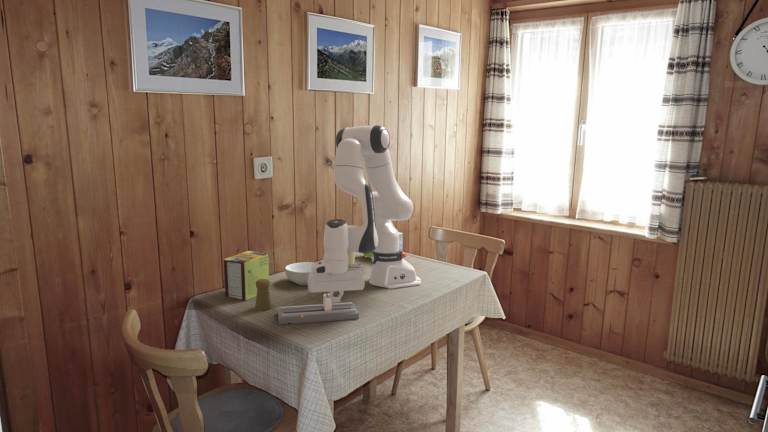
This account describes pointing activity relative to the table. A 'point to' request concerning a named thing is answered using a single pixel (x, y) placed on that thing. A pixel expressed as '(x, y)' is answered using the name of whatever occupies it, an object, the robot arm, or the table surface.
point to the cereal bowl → (299, 272)
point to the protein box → (245, 274)
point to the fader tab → (327, 302)
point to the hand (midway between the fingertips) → (336, 302)
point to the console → (317, 313)
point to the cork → (263, 295)
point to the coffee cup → (351, 258)
